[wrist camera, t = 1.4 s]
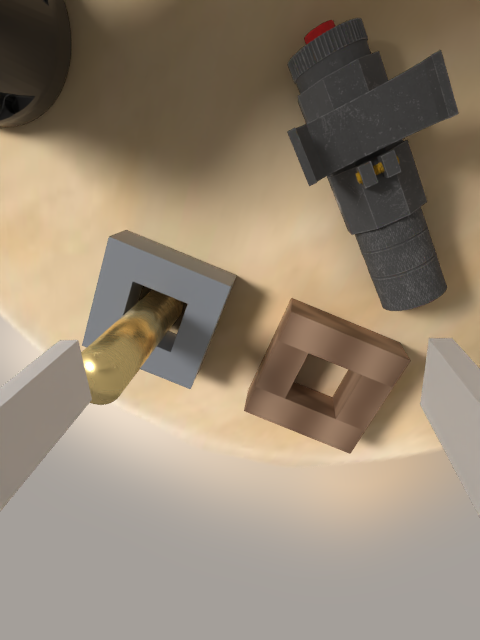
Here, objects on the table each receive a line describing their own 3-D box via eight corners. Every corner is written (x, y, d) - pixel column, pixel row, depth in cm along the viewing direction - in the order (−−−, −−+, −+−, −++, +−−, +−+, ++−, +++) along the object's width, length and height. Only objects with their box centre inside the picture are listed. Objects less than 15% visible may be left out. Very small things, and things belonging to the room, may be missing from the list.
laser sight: (355, 304, 40) (374, 346, 30) (261, 74, 33) (249, 39, 24) (456, 265, 37) (510, 298, 28) (375, 7, 31) (410, -61, 21)
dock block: (248, 390, 45) (244, 410, 41) (291, 298, 40) (291, 311, 36) (345, 429, 45) (350, 453, 41) (399, 342, 40) (410, 360, 36)
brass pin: (142, 313, 43) (62, 391, 28) (152, 280, 41) (73, 345, 26) (176, 327, 43) (114, 412, 28) (187, 295, 41) (128, 367, 26)
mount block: (99, 330, 44) (82, 345, 40) (126, 229, 39) (108, 236, 36) (199, 370, 44) (190, 389, 41) (236, 275, 40) (230, 286, 36)
